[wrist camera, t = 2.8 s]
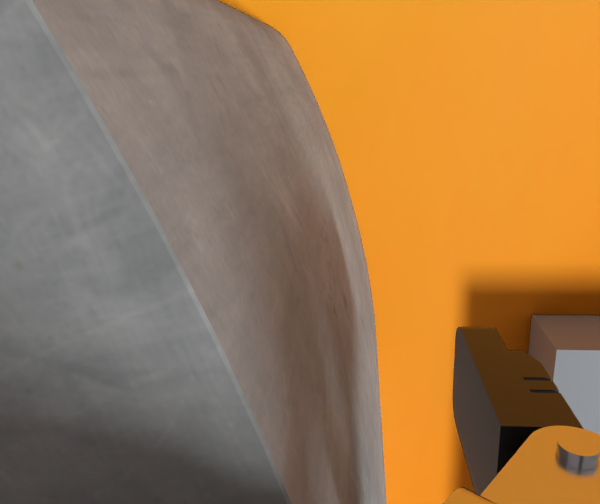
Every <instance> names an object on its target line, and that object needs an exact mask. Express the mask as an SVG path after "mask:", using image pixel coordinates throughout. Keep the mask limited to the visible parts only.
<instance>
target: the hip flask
mask: <svg viewBox="0 0 600 504" xmlns="http://www.w3.org/2000/svg"><path fill="white" fill-rule="evenodd" d="M0 504H386V488H385V472H384V456H383V439H382V423H381V407H380V391H379V375H378V359H377V342H376V329H375V317H374V308H373V300H372V293H371V286H370V280H369V275H368V269H367V263H366V258H365V254H364V249H363V244H362V240H361V236H360V232H359V228H358V224H357V220H356V216H355V212H354V208H353V205H352V201H351V198H350V194H349V190H348V187H347V183H346V180H345V177H344V174H343V171H342V168H341V164H340V161H339V158H338V155H337V153H336V150H335V147H334V144H333V142H332V139H331V136H330V133H329V131H328V128H327V126H326V123H325V120H324V118H323V115H322V113H321V110H320V108H319V105H318V103H317V101H316V99H315V96H314V94H313V92H312V90H311V88H310V85H309V83H308V81H307V79H306V77H305V74H304V72H303V70H302V68H301V66H300V64H299V62H298V60H297V58H296V56H295V54H294V52H293V50H292V48H291V46H290V44H289V43H288V41H287V40H286V38H285V37H284V36H283V35H282V34H281V33H280V32H278V31H277V30H276V29H274V28H273V27H271V26H269V25H267V24H265V23H263V22H261V21H259V20H257V19H255V18H253V17H251V16H249V15H247V14H245V13H243V12H241V11H239V10H237V9H235V8H233V7H231V6H229V5H227V4H225V3H223V2H221V1H219V0H0Z"/></svg>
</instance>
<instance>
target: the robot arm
mask: <svg viewBox="0 0 600 504" xmlns="http://www.w3.org/2000/svg"><path fill="white" fill-rule="evenodd" d="M453 410H454V418H455V423H456V427H457V431H458V434H459V438H460V441H461V445H462V448H463V452H464V456H465V459H466V463H467V466H468V470H469V473H470V477H471V480H472V484H473V487H474V491H475V493H474V492H472V491H470V490H468V489H466V488H464V487H461V488H458V489H457V490H455V491H454V492H453V493H452V494H451V495H450V496H449V497H448V498H447V499H446V501H445V502H444V503H443V504H600V435H599V434H597V433H594V432H592V431H589V430H585V429H583V427H582V425H581V424H580V422H579V421H578V419H577V418H576V416H575V415H574V413H573V411H572V410H571V408H570V407H569V405H568V404H567V402H566V401H565V399H564V398H563V396H562V394H561V393H559V390H558V388H557V387H556V385H555V384H554V382H553V381H551V377H550V376H549V374H548V373H547V371H546V370H545V368H544V367H543V365H542V363H540V362H539V361H537V360H536V359H535V358H533V357H532V356H530V355H529V354H527V353H526V352H524V351H523V350H507V348H506V346H505V344H504V342H503V341H502V339H501V337H500V335H499V333H498V332H497V330H496V328H495V327H458V328H457V331H456V340H455V360H454V380H453Z"/></svg>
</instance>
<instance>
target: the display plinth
mask: <svg viewBox="0 0 600 504" xmlns="http://www.w3.org/2000/svg"><path fill="white" fill-rule="evenodd" d="M528 354H529V355H530V356H532V357H533V358H535V359H536V360H537V361H539V362H540V363H542V365H543V367H544V368H545V370H546V371H547V373H548V374H549V376H550V377H551V381H553V382H554V384H555V385H556V387H557V388H558V390H559V393H561V394H562V396H563V398H564V399H565V401H566V402H567V404H568V405H569V407H570V408H571V410H572V411H573V413H574V415H575V416H576V418H577V419H578V421H579V422H580V424H581V425H582V427H583V429H585V430H589V431H592V432H594V433H597V434H599V435H600V315H532V320H531V330H530V340H529V350H528Z"/></svg>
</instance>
